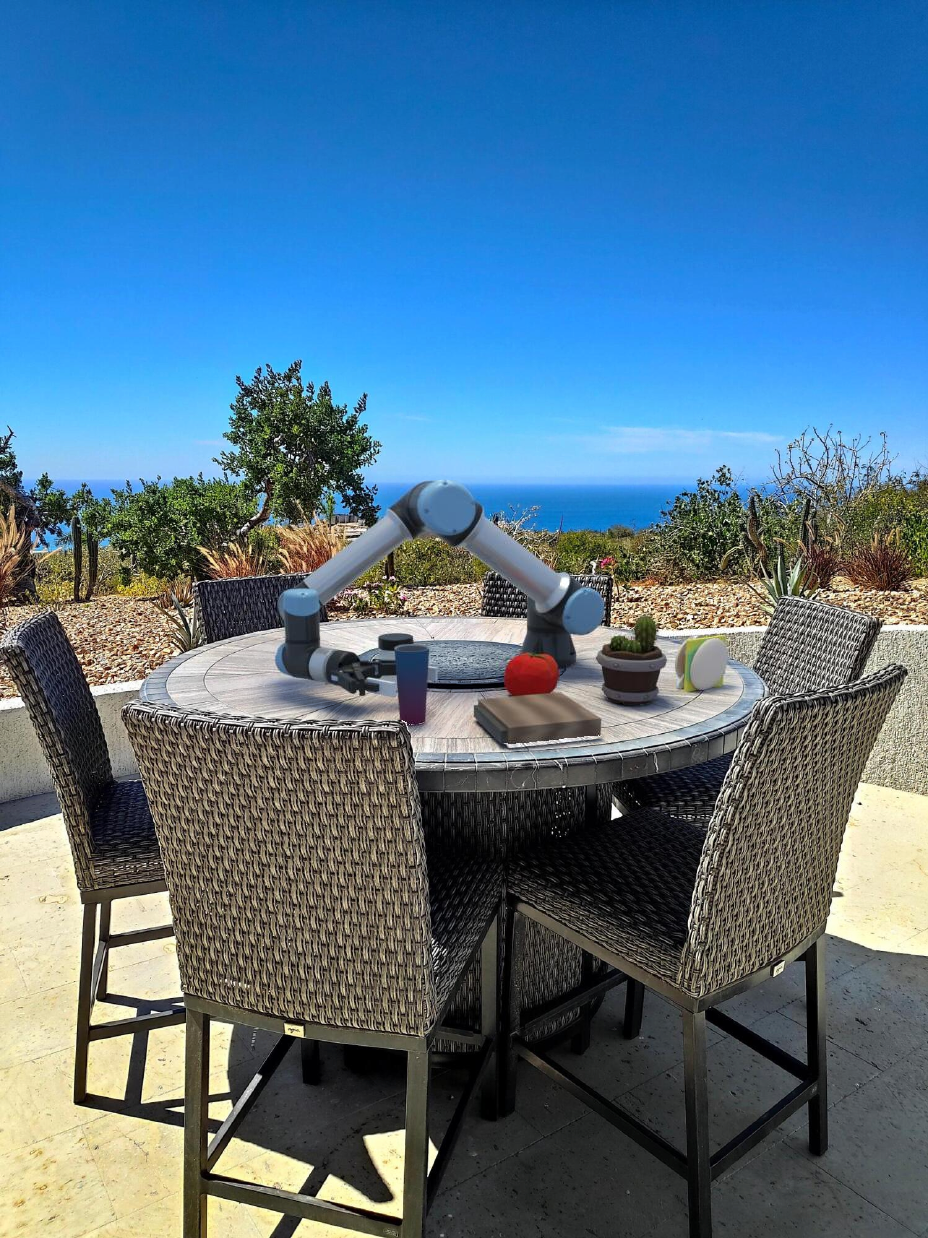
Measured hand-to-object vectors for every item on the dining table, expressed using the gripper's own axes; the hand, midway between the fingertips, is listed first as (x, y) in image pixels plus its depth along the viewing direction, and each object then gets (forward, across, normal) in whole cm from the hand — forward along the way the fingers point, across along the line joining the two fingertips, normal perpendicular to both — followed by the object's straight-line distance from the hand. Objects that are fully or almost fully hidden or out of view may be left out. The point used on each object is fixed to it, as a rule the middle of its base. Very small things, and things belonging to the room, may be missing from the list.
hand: (416, 681), depth 140 cm
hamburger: (+39, -58, -9) cm, 70 cm away
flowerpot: (+29, -39, -9) cm, 49 cm away
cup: (-1, 0, -9) cm, 9 cm away
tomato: (+10, -28, -9) cm, 31 cm away
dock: (+21, -10, -8) cm, 25 cm away
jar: (-20, -18, -9) cm, 29 cm away
